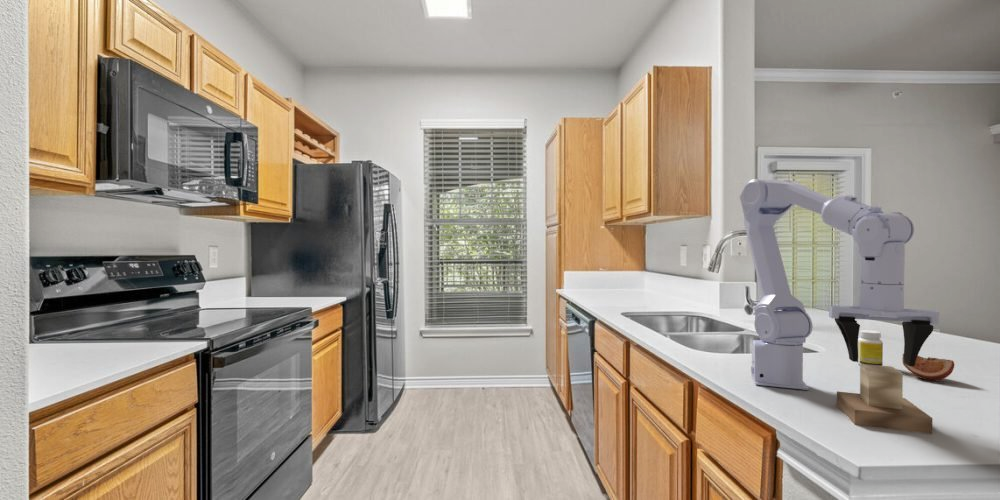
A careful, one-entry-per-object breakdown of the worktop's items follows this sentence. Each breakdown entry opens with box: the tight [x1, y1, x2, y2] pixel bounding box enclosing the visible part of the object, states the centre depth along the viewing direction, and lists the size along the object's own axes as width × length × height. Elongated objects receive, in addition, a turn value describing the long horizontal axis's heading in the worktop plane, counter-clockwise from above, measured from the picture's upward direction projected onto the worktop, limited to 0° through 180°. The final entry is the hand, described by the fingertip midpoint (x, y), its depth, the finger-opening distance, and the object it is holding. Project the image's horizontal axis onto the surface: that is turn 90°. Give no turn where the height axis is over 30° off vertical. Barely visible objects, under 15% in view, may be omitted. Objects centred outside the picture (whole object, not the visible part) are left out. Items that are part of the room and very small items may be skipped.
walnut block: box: [836, 390, 933, 435], centre depth 78 cm, size 10×10×3 cm
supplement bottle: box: [857, 329, 884, 366], centre depth 111 cm, size 5×5×8 cm
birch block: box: [859, 364, 904, 409], centre depth 78 cm, size 4×4×6 cm
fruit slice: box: [901, 353, 955, 381], centre depth 101 cm, size 8×7×5 cm
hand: (880, 362), depth 78 cm, fingers open, 7 cm apart
